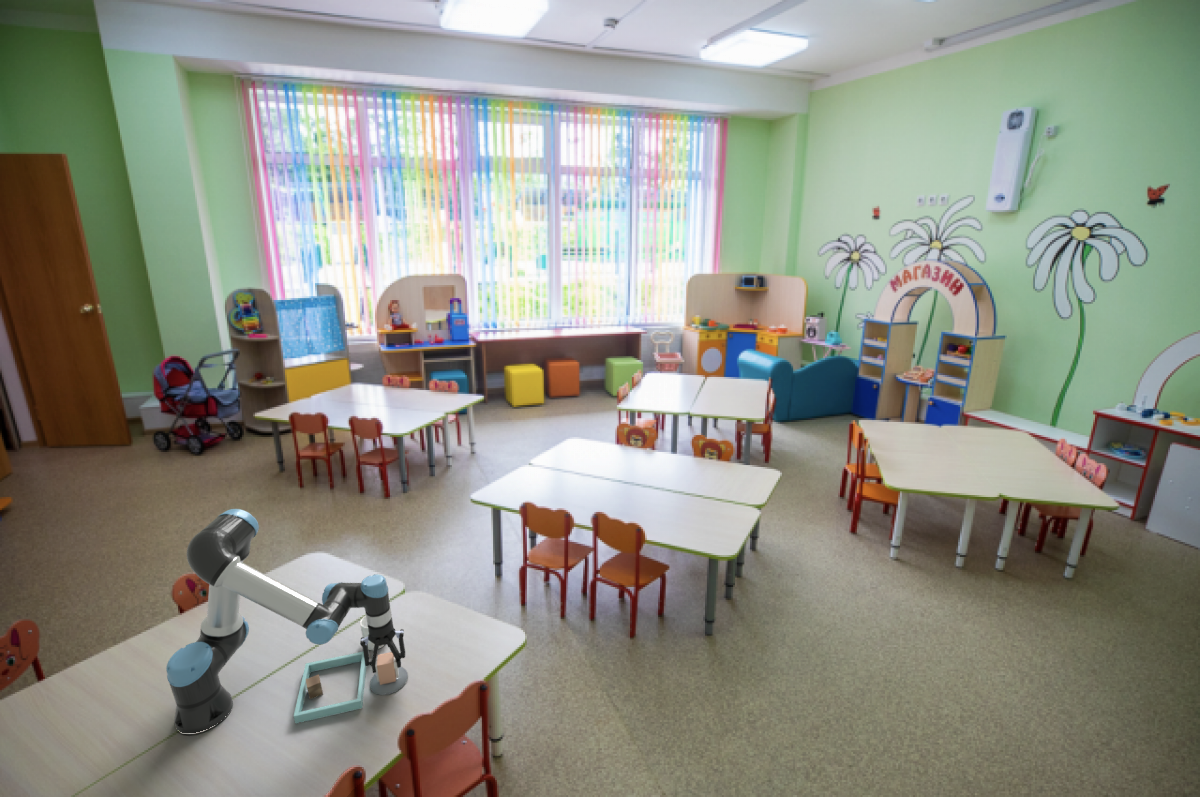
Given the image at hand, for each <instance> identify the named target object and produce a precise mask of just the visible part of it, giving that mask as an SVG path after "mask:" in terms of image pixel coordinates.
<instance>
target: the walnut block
mask: <svg viewBox="0 0 1200 797" xmlns="http://www.w3.org/2000/svg"><path fill="white" fill-rule="evenodd" d="M321 682H322V681H321V677H320V674H316V675H313V676H310V677H309V678H308V679H306V684H307V693H308V697H309V698H308V699H309V700H311V699H312V700H313V699H314V698H317V697H319V696H323V695H324V691H323V688H322V683H321Z"/></svg>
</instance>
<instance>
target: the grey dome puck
mask: <svg viewBox="0 0 1200 797" xmlns="http://www.w3.org/2000/svg"><path fill="white" fill-rule="evenodd" d="M398 669H399V677H398V678H396V681H395V682H391V683H386V684H382V685H380V682H378V680H377V674H376V673H373V675H372V677H371V678H370V682H369V688H370V690H371V692H373V693H374V694H376V695H379V696H387V695H392V694H394V693H396V692H397V691H399V690H401V689H402V688H403V687H404V686H405V685H406V684H407V682H408V677H409V676H408V671H407V669H406V668H404V667H403V666H401V667H399V668H398Z"/></svg>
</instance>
